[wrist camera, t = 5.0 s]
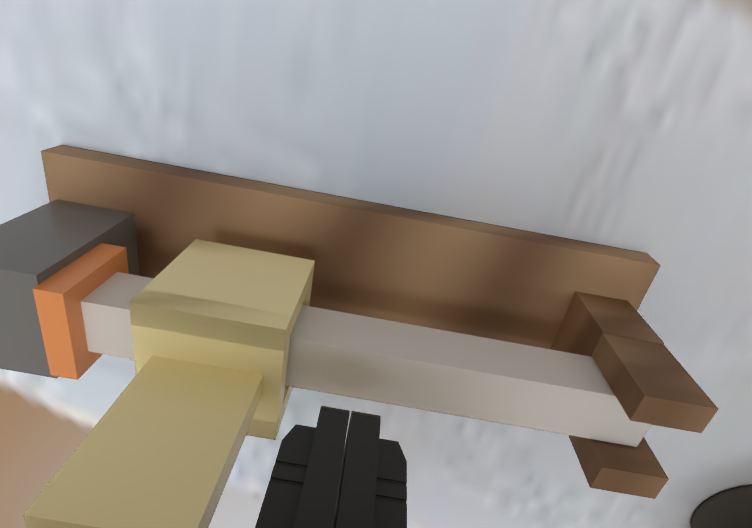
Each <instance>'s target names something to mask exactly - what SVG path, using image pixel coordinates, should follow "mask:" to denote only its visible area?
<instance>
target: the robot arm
mask: <svg viewBox="0 0 752 528" xmlns="http://www.w3.org/2000/svg"><path fill="white" fill-rule="evenodd" d="M349 412H350V411H348V410H342V409H336V408H331V407H325V406H321V409H320V414H319V418H318V422H317V427H316V428H314V427H308V426H302V425H295V426H294V427H293V428H292V430H291V431H290V432H289V433H288V434H287V435H286V436H285V438H284V439H283V440H282V442H281V446H280V449H279V452H278V455H277V459H276V463H275V465H274V468H273V471H272V475H271V479H270V481H269V484H268V488H267V491H266V494H265V497H264V501H263V504H262V507H261V511H260V514H259V517H258V520H257V523H256V527H255V528H407V504H406V500H407V486H406V482H407V462H406V459H405V457H404V454H403V452H402V450H401V447H400V445H399V443H398V442H397V441H391V440H385V439H379V434H380V416H378V415H372V414H366V413H361V412H355V411H352V413H351V418H350V423H349V428H348V433H347V426H348V419H349ZM346 433H347V438H346ZM345 439H346V443H345ZM344 446H345V448H344Z"/></svg>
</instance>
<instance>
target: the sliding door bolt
mask: <svg viewBox="0 0 752 528" xmlns="http://www.w3.org/2000/svg"><path fill="white" fill-rule="evenodd" d="M153 279H154V278H149V277H143V276H140V275H139V263H138V250H137V238H136V225H135V213H130V212H125V211H119V210H114V209H109V208H103V207H98V206H92V205H87V204H81V203H76V202H70V201H65V200H59V199H57V200H54V201H52V202H50V203H48V204H45V205H43V206H41V207H39V208H37V209H34V210H32V211H30V212H28V213H26V214H23V215H21V216H19V217H17V218H14V219H12V220H10V221H8V222H6V223H3V224H1V225H0V368H1V369H6V370H12V371H18V372H24V373H30V374H35V375H41V376H47V377H53V378H58V377H65V378H70V379H76V380H78V379H79V378H80V377H81V376H82V375H83V374H84V373H85V372H86V371H87V370H88V369H89V368H90V366H91V365H92V364H93V363H94V362H95V361H96V360H97V359H98V358H99V357H100V356H101V355H102V354H107V355H113V356H119V357H124V358H130V359H134V349H133V339H132V328H131V318H130V307H129V302H130V301H131V300H132V299H133V298H134V297H135V296H136V295H137V294H138V293H139V292H140V291H141V290H142V289H143V288H144V287H146V286H147V285H148V284H149V283H150V282H151V281H152V280H153ZM285 386H291V387H296V388H302V389H308V390H313V391H319V392H325V393H331V394H336V395H342V396H348V397H354V398H359V399H365V400H371V401H376V402H382V403H388V404H394V405H399V406H405V407H411V408H417V409H422V410H428V411H434V412H439V413H445V414H451V415H457V416H462V417H468V418H474V419H480V420H485V421H491V422H497V423H502V424H508V425H514V426H520V427H525V428H531V429H537V430H543V431H548V432H554V433H560V434H566V435H571V436H577V437H583V438H588V439H594V440H600V441H606V442H611V443H617V444H623V445H629V446H634V447H637V446H638V445H639V443H640V441H641V440H642V438H643V437H644V435H645V433H646V432H647V430H648V429H649V427H650V425H651V424H647V423H641V422H636V421H630V419H629V418H628V416H627V414H626V413H625V411H624V409H623V408H622V406H621V404H620V403H619V401H618V399H617V398H616V396H615V394H614V392H613V391H612V389H611V387H610V386H609V384H608V382H607V381H606V379H605V377H604V376H603V374H602V372H601V371H600V369H599V367H598V365H597V364H596V362H595V360H594V359H593V357H590V356H584V355H579V354H573V353H568V352H562V351H556V350H551V349H545V348H540V347H534V346H529V345H523V344H517V343H512V342H506V341H501V340H495V339H489V338H484V337H478V336H473V335H467V334H461V333H456V332H450V331H445V330H439V329H434V328H428V327H422V326H417V325H411V324H406V323H400V322H394V321H389V320H383V319H378V318H372V317H367V316H361V315H355V314H350V313H344V312H339V311H333V310H327V309H322V308H316V307H311V306H305V305H302V307H301V310H300V312H299V315H298V317H297V320H296V322H295V325H294V327H293V330H292V332H291V335H290V342H289V352H288V362H287V371H286V381H285Z"/></svg>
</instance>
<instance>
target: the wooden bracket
mask: <svg viewBox="0 0 752 528" xmlns="http://www.w3.org/2000/svg"><path fill="white" fill-rule="evenodd" d="M41 154H42V160H43V165H44V171H45V177H46V183H47V189H48V195H49V201H50V202H52V201H54V200H57V199H59V200H65V201H70V202H76V203H81V204H87V205H92V206H98V207H103V208H109V209H114V210H119V211H125V212H130V213H135V225H136V238H137V250H138V263H139V275H140V276H143V277H149V278H155V277H156V276H157V275H158V274H159V273H160V272H161V271H163V270H164V269H165V268H166V267H167V266H168V265H169V264H170V263H171V262H172V261H173V260H174V259H175V258H176V257H177V256H178V255H180V254H181V253H182V252H183V251H184V250H185V249H186V248H187V247H188V246H189V245H190V244H191V243H192V242H193V241H194V240H196V239H199V240H204V241H210V242H215V243H221V244H226V245H232V246H237V247H243V248H248V249H254V250H259V251H265V252H270V253H276V254H281V255H287V256H292V257H298V258H303V259H309V260H314V261H315V264H314V272H313V280H312V288H311V296H310V304H309V306H311V307H316V308H322V309H327V310H333V311H339V312H344V313H350V314H355V315H361V316H367V317H372V318H378V319H383V320H389V321H394V322H400V323H406V324H411V325H417V326H422V327H428V328H434V329H439V330H445V331H450V332H456V333H461V334H467V335H473V336H478V337H484V338H489V339H495V340H501V341H506V342H512V343H517V344H523V345H529V346H534V347H540V348H545V349H551V350H556V351H562V352H568V353H573V354H579V355H584V356H590V357H593V359H594V360H595V362H596V364H597V365H598V367H599V369H600V371H601V372H602V374H603V376H604V377H605V379H606V381H607V382H608V384H609V386H610V387H611V389H612V391H613V392H614V394H615V396H616V398H617V399H618V401H619V403H620V404H621V406H622V408H623V409H624V411H625V413H626V414H627V416H628V418H629V419H630V421H636V422H641V423H647V424H653V425H658V426H664V427H670V428H675V429H681V430H687V431H692V432H698V433H702V431H703V430H704V429H705V427H706V426H707V424H708V423H709V422H710V420H711V419H712V417H713V416H714V415H715V413H716V412H717V410H718V408H717V407H716V406H715V404H714V403H713V402H712V401H711V400H710V398H709V397H708V396H707V395H706V394H705V393H704V391H703V390H702V389H701V388H700V387H699V386H698V384H697V383H696V382H695V381H694V380H693V379H692V377H691V376H690V375H689V374H688V373H687V371H686V370H685V369H684V368H683V367H682V366H681V364H680V363H679V362H678V361H677V360H676V359H675V357H674V356H673V355H672V354H671V353H670V352H669V350H668V349H667V348H666V347H665V346H664V345H663V344H664V342H663V341H662V340H661V339H660V338H659V337H658V335H657V334H656V333H655V332H654V331H653V330H652V328H651V327H650V326H649V325H648V324H647V323H646V321H645V320H644V319H643V318H642V317H641V316H640V314H639V313H638V312H637V309H638V307H639V305H640V304H641V302H642V300H643V298H644V296H645V294H646V292H647V290H648V288H649V286H650V284H651V283H652V281H653V279H654V277H655V275H656V273H657V271H658V269H659V267H660V265H659V264H658V263H657V262H656V261H655V260H654V259H653V258H651V257H650V256H649V255H648V254H647V253H642V252H636V251H631V250H626V249H620V248H615V247H609V246H604V245H599V244H593V243H588V242H582V241H577V240H572V239H566V238H561V237H555V236H550V235H545V234H539V233H534V232H528V231H523V230H518V229H512V228H507V227H501V226H496V225H491V224H485V223H480V222H474V221H469V220H464V219H458V218H453V217H447V216H442V215H437V214H431V213H426V212H420V211H415V210H410V209H404V208H399V207H393V206H388V205H383V204H377V203H372V202H366V201H361V200H356V199H350V198H345V197H339V196H334V195H329V194H323V193H318V192H312V191H307V190H302V189H296V188H291V187H285V186H280V185H275V184H269V183H264V182H258V181H253V180H248V179H242V178H237V177H231V176H226V175H221V174H215V173H210V172H204V171H199V170H194V169H188V168H183V167H177V166H172V165H167V164H161V163H156V162H150V161H145V160H140V159H134V158H129V157H123V156H118V155H113V154H107V153H102V152H96V151H91V150H86V149H80V148H75V147H69V146H64V145H59V146H56V147H53V148H49V149H46V150H43V151H41ZM569 438H570V440H571V442H572V445H573V447H574V450H575V452H576V454H577V457H578V459H579V462H580V464H581V467H582V469H583V471H584V474H585V476H586V479H587V481H588V483H589V486H590V488H596V489H601V490H607V491H613V492H619V493H625V494H631V495H636V496H642V497H648V498H654V499H655V498H656V496H657V495H658V493H659V492H660V491H661V489H662V488H663V486H664V485H665V484H666V482H667V481H668V477H667V475H666V474H665V472H664V470H663V469H662V467H661V465H660V464H659V462H658V460H657V459H656V457H655V455H654V454H653V452H652V450H651V449H650V447H649V445H648V444H647V442H646V440H645V439H644V437H643V438H642V440H641V441H640V443H639V445H638V446H637V447H634V446H629V445H623V444H617V443H611V442H606V441H600V440H594V439H588V438H583V437H577V436H571V435H569Z"/></svg>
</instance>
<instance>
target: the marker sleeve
mask: <svg viewBox="0 0 752 528" xmlns="http://www.w3.org/2000/svg"><path fill="white" fill-rule="evenodd" d="M314 264H315V261H314V260H309V259H303V258H298V257H292V256H287V255H281V254H276V253H270V252H265V251H259V250H254V249H248V248H243V247H237V246H232V245H226V244H221V243H215V242H210V241H204V240H199V239H196V240H194V241H193V242H192V243H191V244H190V245H189V246H188V247H187V248H186V249H185V250H184V251H183V252H182V253H181V254H180V255H178V256H177V257H176V258H175V259H174V260H173V261H172V262H171V263H170V264H169V265H168V266H167V267H166V268H165V269H164V270H163V271H161V272H160V273H159V274H158V275H157V276H156V277H155V278H154V279H153V280H152V281H151V282H150V283H149V284H148V285H147V286H146V287H144V288H143V289H142V290H141V291H140V292H139V293H138V294H137V295H136V296H135V297H134V298H133V299H132V300H131V301H130V302H129V307H130V318H131V328H132V339H133V349H134V359H135V370H136V376H135V377H134V379H133V380H132V381H131V382H130V384H129V385H128V386H127V387H126V389H125V390H124V391H123V392H122V393H121V395H120V396H119V397H118V398H117V400H116V401H115V402H114V403H113V405H112V406H111V407H110V408H109V410H108V411H107V412H106V413H105V414H104V416H103V417H102V418H101V419H100V421H99V422H98V423H97V424H96V426H95V427H94V428H93V429H92V431H91V432H90V433H89V434H88V436H87V437H86V438H85V439H84V440H83V442H82V443H81V444H80V445H79V447H78V448H77V449H76V450H75V452H74V453H73V454H72V455H71V457H70V458H69V459H68V460H67V461H66V463H65V464H64V465H63V466H62V468H61V469H60V470H59V471H58V473H57V474H56V475H55V476H54V478H53V479H52V480H51V481H50V482H49V484H48V485H47V486H46V488H45V489H44V490H43V491H42V492H41V494H40V495H39V496H38V497H37V499H36V500H35V501H34V502H33V504H32V505H31V506H30V507H29V509H28V510H27V511H26V512H25V513H24V519H25V522H26V526H27V528H208V526H209V524H210V522H211V519H212V517H213V515H214V512H215V510H216V507H217V504H218V502H219V500H220V497H221V495H222V492H223V490H224V488H225V485H226V483H227V480H228V478H229V475H230V473H231V470H232V468H233V465H234V463H235V460H236V458H237V456H238V453H239V451H240V448H241V446H242V443H243V441H244V438H245V436H246V435H250V436H255V437H261V438H267V439H273V440H275V439H276V436H277V433H278V430H279V427H280V424H281V421H282V418H283V415H284V412H285V409H286V406H287V403H288V400H289V397H290V394H291V391H292V388H293V387H291V386H285V381H286V371H287V362H288V352H289V342H290V335H291V332H292V330H293V327H294V325H295V322H296V320H297V317H298V315H299V312H300V310H301V307H302V305H305V306H309V304H310V296H311V288H312V280H313V272H314Z"/></svg>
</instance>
